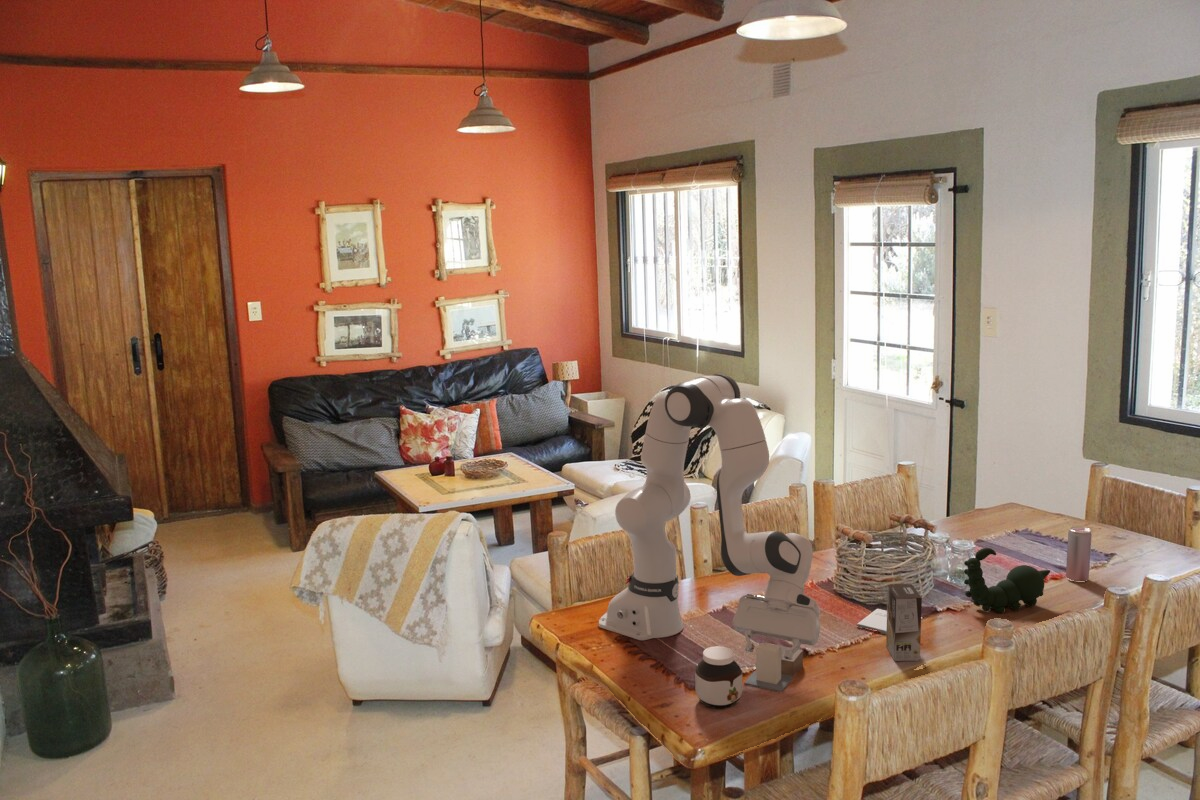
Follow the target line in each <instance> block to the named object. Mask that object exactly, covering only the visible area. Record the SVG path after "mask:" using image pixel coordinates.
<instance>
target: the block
mask: <svg viewBox="0 0 1200 800" xmlns="http://www.w3.org/2000/svg"><path fill="white" fill-rule="evenodd" d="M770 644H771V643H770ZM770 644H767V643H764V642H760V643H759V644H758V645H757V646H756V647H755V670H756V680H759V681H764V682H768V683H773V684H777V683H778V682H779V681H780V680H781V647H780V646H781V645H780V646H775V645H776V644H775V645H770Z"/></svg>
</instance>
